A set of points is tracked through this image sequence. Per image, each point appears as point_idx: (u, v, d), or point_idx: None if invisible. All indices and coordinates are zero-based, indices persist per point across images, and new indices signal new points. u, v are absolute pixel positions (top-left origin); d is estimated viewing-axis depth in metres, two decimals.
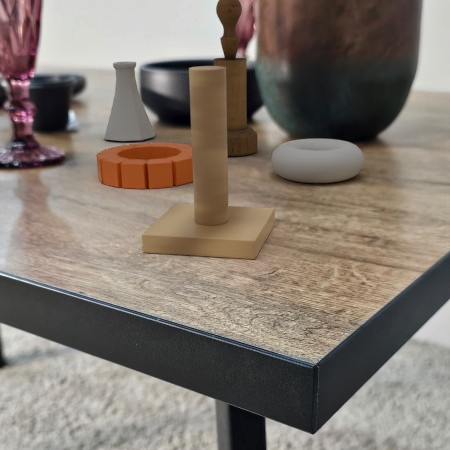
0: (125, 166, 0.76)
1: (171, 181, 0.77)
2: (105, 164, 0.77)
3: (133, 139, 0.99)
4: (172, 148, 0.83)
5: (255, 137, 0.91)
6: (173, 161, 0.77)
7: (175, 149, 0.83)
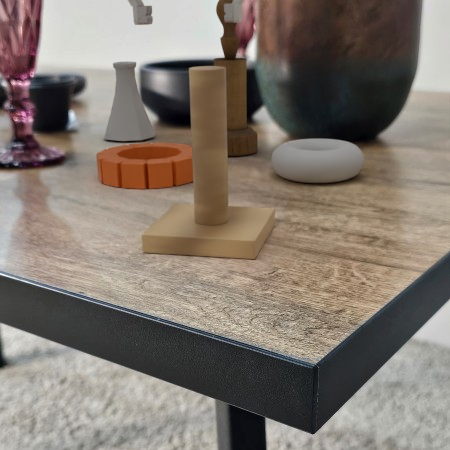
0: (125, 166, 0.76)
1: (171, 181, 0.77)
2: (105, 164, 0.77)
3: (133, 139, 0.99)
4: (172, 148, 0.83)
5: (255, 137, 0.91)
6: (173, 161, 0.77)
7: (175, 149, 0.83)
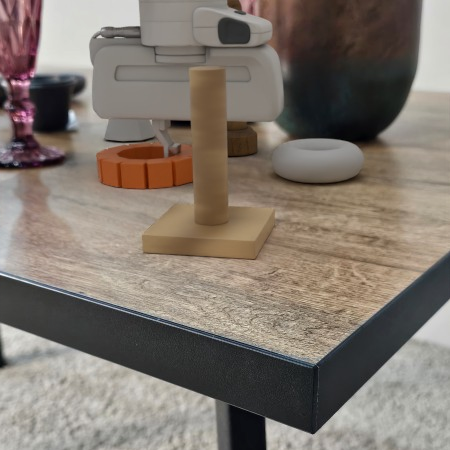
0: (125, 166, 0.76)
1: (171, 181, 0.77)
2: (105, 164, 0.77)
3: (133, 139, 0.99)
4: None
5: (255, 137, 0.91)
6: (173, 161, 0.77)
7: None
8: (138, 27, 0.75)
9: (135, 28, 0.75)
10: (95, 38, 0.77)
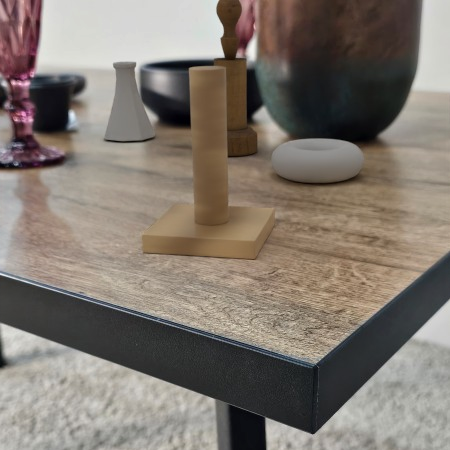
0: None
1: None
2: None
3: (133, 139, 0.99)
4: None
5: (255, 137, 0.91)
6: None
7: None
8: None
9: None
10: None
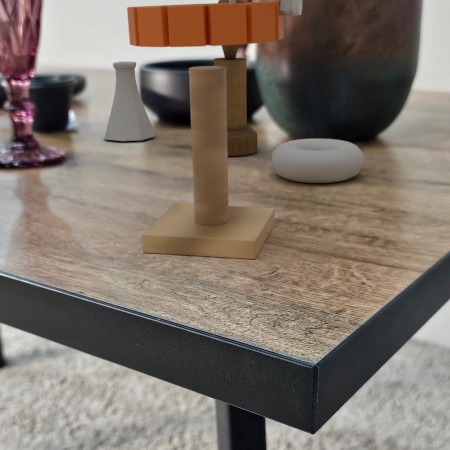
0: (175, 10, 0.49)
1: (244, 35, 0.50)
2: (143, 12, 0.51)
3: (133, 139, 0.99)
4: None
5: (255, 137, 0.91)
6: (247, 4, 0.50)
7: None
8: None
9: None
10: None
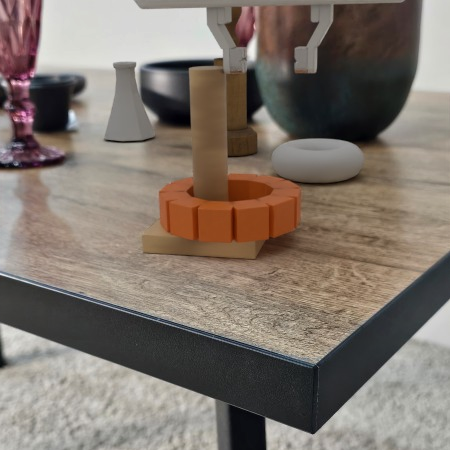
0: (205, 212, 0.55)
1: (267, 232, 0.56)
2: (174, 208, 0.56)
3: (133, 139, 0.99)
4: (258, 182, 0.62)
5: (255, 137, 0.91)
6: (270, 204, 0.55)
7: (262, 184, 0.61)
8: None
9: None
10: None
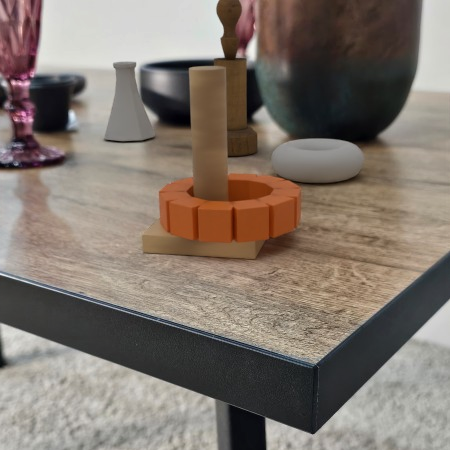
0: (205, 212, 0.55)
1: (267, 232, 0.56)
2: (174, 208, 0.56)
3: (133, 139, 0.99)
4: (258, 182, 0.62)
5: (255, 137, 0.91)
6: (270, 204, 0.55)
7: (262, 184, 0.61)
8: None
9: None
10: None
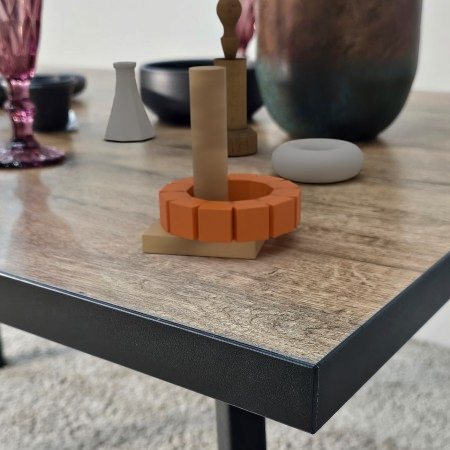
0: (205, 212, 0.55)
1: (267, 232, 0.56)
2: (174, 208, 0.56)
3: (133, 139, 0.99)
4: (258, 182, 0.62)
5: (255, 137, 0.91)
6: (270, 204, 0.55)
7: (262, 184, 0.61)
8: None
9: None
10: None
